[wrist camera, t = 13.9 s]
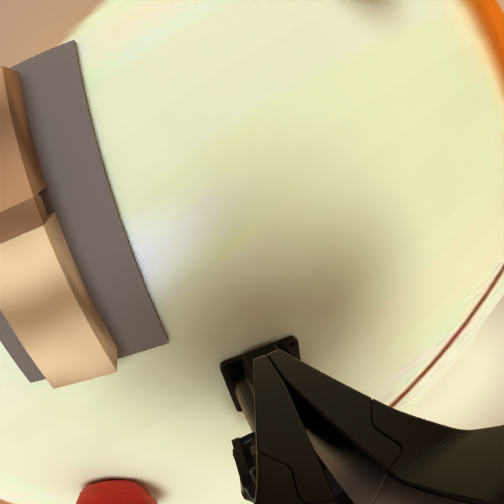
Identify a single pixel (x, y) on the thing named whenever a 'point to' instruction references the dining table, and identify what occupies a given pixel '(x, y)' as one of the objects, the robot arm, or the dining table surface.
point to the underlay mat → (82, 206)
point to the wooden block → (17, 163)
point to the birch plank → (53, 307)
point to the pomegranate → (115, 493)
